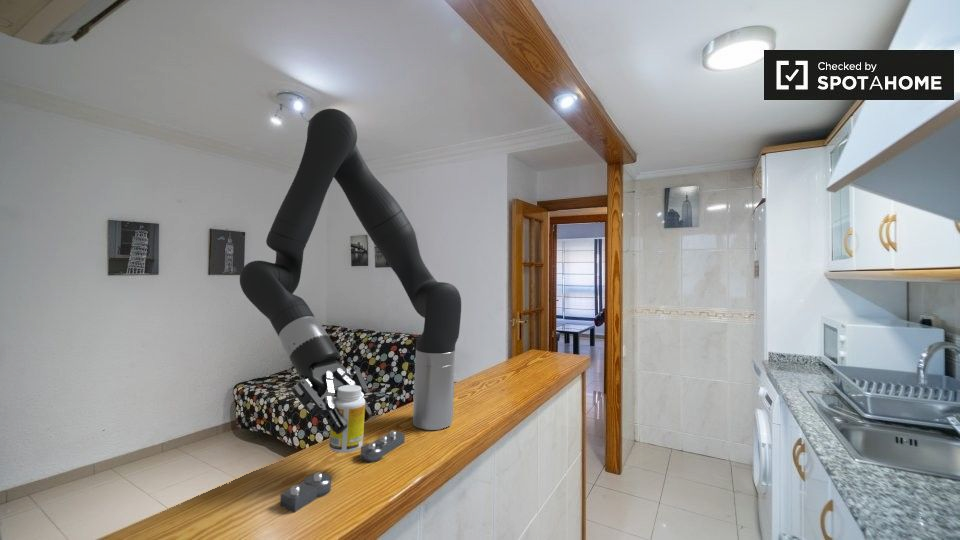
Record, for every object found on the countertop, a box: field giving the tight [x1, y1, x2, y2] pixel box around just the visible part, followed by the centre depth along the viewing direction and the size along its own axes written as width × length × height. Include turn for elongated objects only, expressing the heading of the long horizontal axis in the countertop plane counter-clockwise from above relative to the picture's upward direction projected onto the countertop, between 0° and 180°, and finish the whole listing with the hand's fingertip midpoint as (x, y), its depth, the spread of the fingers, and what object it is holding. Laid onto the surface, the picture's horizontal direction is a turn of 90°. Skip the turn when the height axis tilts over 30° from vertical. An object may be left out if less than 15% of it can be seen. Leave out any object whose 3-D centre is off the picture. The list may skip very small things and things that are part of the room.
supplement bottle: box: [328, 385, 366, 454], centre depth 67 cm, size 6×6×10 cm
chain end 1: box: [279, 471, 332, 513], centre depth 60 cm, size 8×4×3 cm, turn 156°
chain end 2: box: [360, 430, 406, 463], centre depth 76 cm, size 10×4×3 cm, turn 156°
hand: (355, 424), depth 67 cm, fingers closed on supplement bottle, 5 cm apart
